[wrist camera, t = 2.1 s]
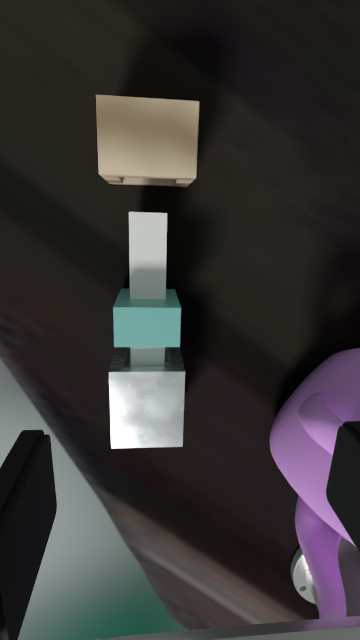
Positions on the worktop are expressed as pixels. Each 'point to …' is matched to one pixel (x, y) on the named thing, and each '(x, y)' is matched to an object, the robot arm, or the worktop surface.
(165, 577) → the worktop surface
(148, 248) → the plug
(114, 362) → the sleeve
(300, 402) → the teapot
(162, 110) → the socket
